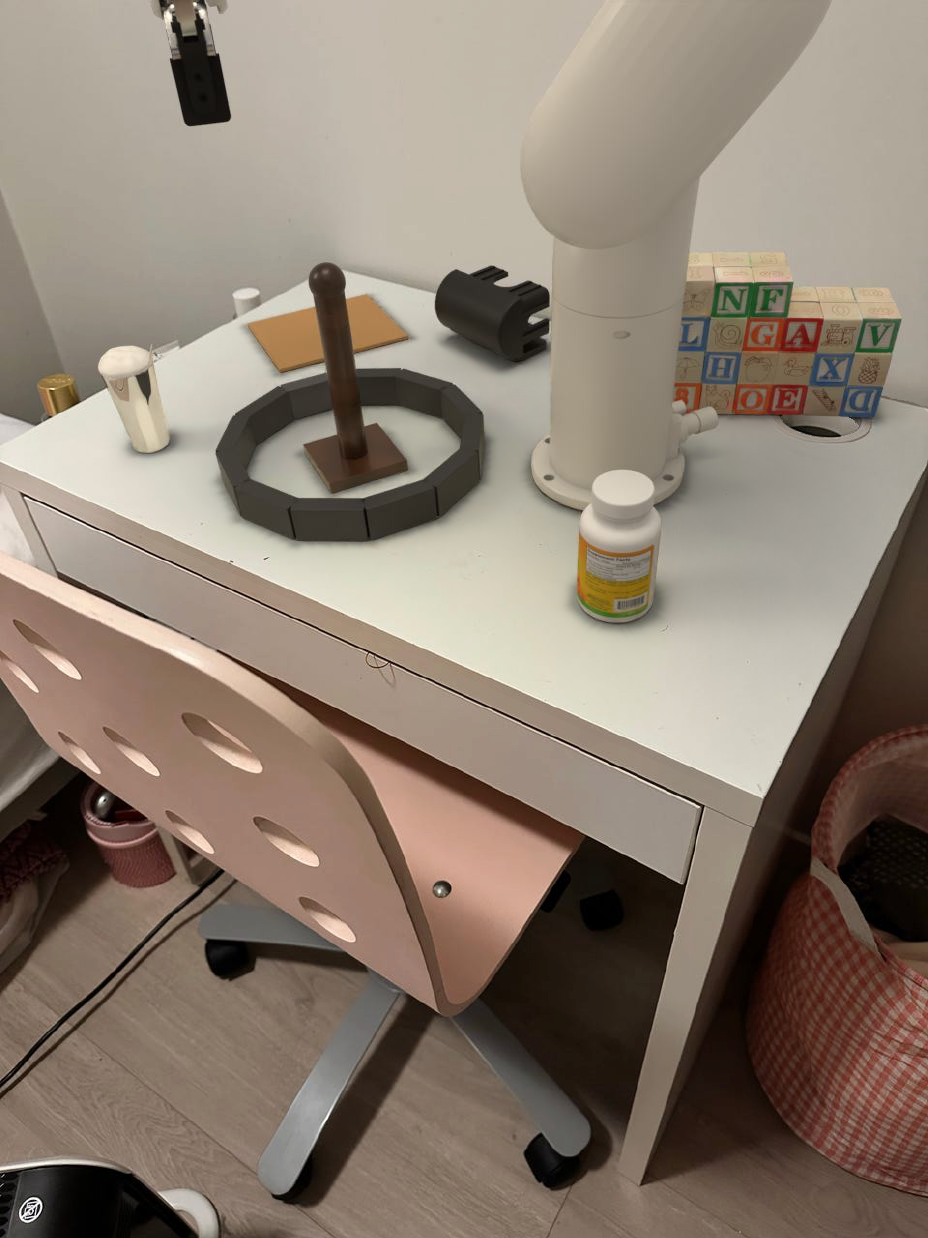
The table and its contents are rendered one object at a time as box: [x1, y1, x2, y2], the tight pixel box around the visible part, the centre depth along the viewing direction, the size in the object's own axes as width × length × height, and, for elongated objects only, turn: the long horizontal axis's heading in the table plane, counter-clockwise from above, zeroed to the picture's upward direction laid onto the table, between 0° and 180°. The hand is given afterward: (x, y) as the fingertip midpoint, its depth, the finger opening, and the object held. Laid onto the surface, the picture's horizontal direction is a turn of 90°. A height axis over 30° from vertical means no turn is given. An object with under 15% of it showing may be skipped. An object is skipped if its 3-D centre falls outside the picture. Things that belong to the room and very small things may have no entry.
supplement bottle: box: [576, 470, 662, 624], centre depth 63 cm, size 5×5×10 cm
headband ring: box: [214, 367, 486, 542], centre depth 80 cm, size 22×22×3 cm
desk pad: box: [247, 293, 409, 373], centre depth 99 cm, size 14×12×1 cm
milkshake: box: [97, 341, 171, 454], centre depth 81 cm, size 4×5×10 cm
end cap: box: [434, 264, 551, 362], centre depth 93 cm, size 10×7×7 cm
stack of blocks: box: [672, 251, 902, 418], centre depth 81 cm, size 21×6×12 cm, turn 81°
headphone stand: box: [302, 261, 409, 494], centre depth 75 cm, size 7×7×17 cm
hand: (204, 104), depth 67 cm, fingers open, 9 cm apart
